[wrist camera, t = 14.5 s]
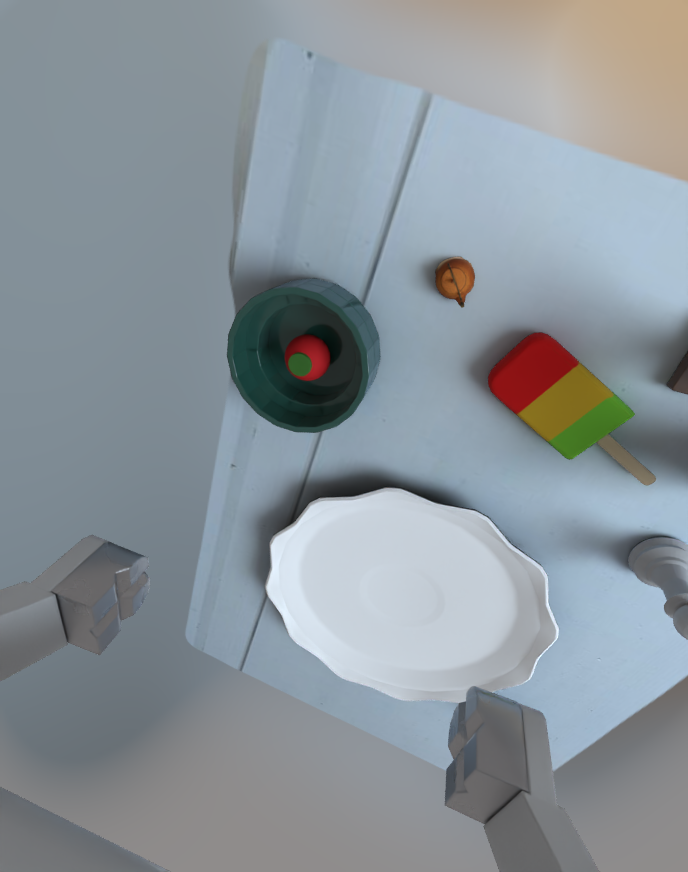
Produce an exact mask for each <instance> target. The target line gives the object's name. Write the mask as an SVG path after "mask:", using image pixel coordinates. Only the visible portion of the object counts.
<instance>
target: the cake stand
mask: <svg viewBox="0 0 688 872" xmlns="http://www.w3.org/2000/svg"><path fill="white" fill-rule="evenodd" d="M667 386H668V387H669V388H670V389H671V390H673V391H677V392H681V393H684V394H688V352H687V354H686V355H685V357H684V358H683V360H682V362H681V363H680V365H679V366H678V368H677V369H676V371H675V372H674V374H673V376H672V377H671V379H670V380H669V382H668V383H667Z"/></svg>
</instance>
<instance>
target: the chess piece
mask: <svg viewBox="0 0 688 872" xmlns="http://www.w3.org/2000/svg"><path fill="white" fill-rule="evenodd" d="M628 563H629V566H630V568H631V569H632V571H633V572H634V573H635V574H636V576H637V578H638V579H639V580H640V581H642V582H644V583H645V584H647V585H650V586H654V587H659V588H661V589H662V590H663V592H664V594H665V597H666V599H667V601H666V603H665V605H664V610H665V612H666V614H667V615H668V616H669V617H671V618H673V623H674V626H675V628H676V630H677V631H678V632H679V633H680V634H681V635H682V636H683V637H684V638H686V639H688V545H687V544H685V543H684V542H682V541H679V540H676V539H672V538H666V537H656V538H651V539H647V540H645V541H643V542H641V543H639V544H638V545H636V546H635V547H634V549H633V550H632V551H631V553H630V555H629V558H628Z"/></svg>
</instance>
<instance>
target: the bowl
mask: <svg viewBox="0 0 688 872" xmlns="http://www.w3.org/2000/svg"><path fill="white" fill-rule="evenodd" d="M307 334H308V335H314V336H317V337H319V338H320V339H321V340H323V341H324V342H325V344H326V345H327V347H328V349H329V352H330V364H329V367H328V369H327V371H326V372H325V373H324V374H323V375H322V376H321V377H320V378H318V379H315V380H311V381H304V380H300V379H298V378H296V377H295V376H293V375H292V374H291V373H290V372H289V370H288V369H287V366H286V363H285V351H286V348H287V346H288V345H289V343H290V342H291V341H292V340H293V339H294V338H296V337H298V336H300V335H307ZM378 336H379V335H378V332H377V330H376V327H375V325H374V322H373V320H372V317H371V315H370V314H369V312H368V311H367V310H366V309H365V307H364V306H363V305H362V304H361V302H360V301H359V300H358V299H357V298H356V297H355V296H354V295H352V294H351V293H349V292H348V291H346V290H345V289H343V288H342V287H340V286H339V285H336V284H335V283H331V282H327V281H324V280H320V279H315V278H312V279H300V280H293V281H290V282H288V283H285V284H282V285H280V286H277V287H274V288H272V289H269V290H267V291H265V292H263V293H261V294H259V295H257V296H255V297H253V298H252V299H250V300H249V301H248V302H247V303H246V305H245V306H244V307H243V308H242V309H241V310H240V311H239V312H238V313H237V315H236V317H235V319H234V322H233V324H232V327H231V329H230V332H229V335H228V349H227V358H228V363H229V367H230V371H231V376H232V379H233V381H234V383H235V384H236V386H237V388H238V390H239V392H240V394H241V396H242V397H243V399H244V400H245V401H246V402H247V403H248V404H249V405H250V406H251V407H252V408H253V410H254V411H255V412H256V413H257V414H258V415H260V416H261V417H263V418H265V419H266V420H268V421H269V422H271V423H272V424H274V425H276V426H278V427H281V428H284V429H287V430H291V431H294V432H309V433H316V432H321V431H324V430H327V429H331V428H334V427H336V426H338V425H339V424H341V423H342V422H343V421H345V420H346V419H347V418H349V417H350V416H352V414H353V413H354V412H355V410H356V409H357V407H358V406H359V404H360V403H361V401H362V400H363V398H364V396H365V395H366V393H367V391H368V390H369V388H370V386H371V385H372V383H373V381H374V379H375V377H376V374H377V370H378V366H379V362H380V343H379V337H378Z"/></svg>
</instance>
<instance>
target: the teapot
mask: <svg viewBox="0 0 688 872" xmlns="http://www.w3.org/2000/svg"><path fill="white" fill-rule="evenodd" d="M435 273H436V287H437V289H438V291H439V292H440V293H441V294H442V295H443V296H444V297H446V298H449V299H455V300H456V301H457V302H458V304H459V305H460V306H461V308H462V307H464V302H465V297H466V294H467V293H469V292H470V291H471V289H472V288H473V286H474V280H475V274H474V270H473V267H472V265H471V263H469V262H468V261H467V260H464V259H463V258H462V257H452V258H449V259H446V260H444V261H442V262H441V263H440V264H439V265H438V267H437V269H436V271H435Z"/></svg>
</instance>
